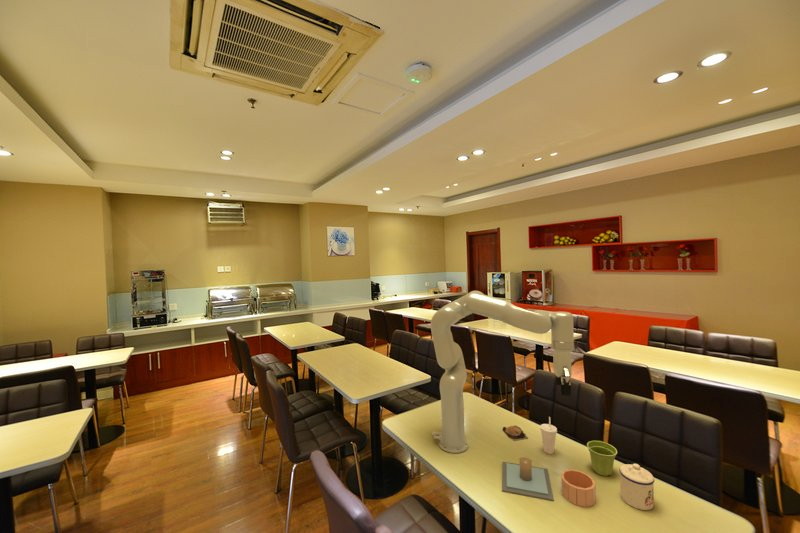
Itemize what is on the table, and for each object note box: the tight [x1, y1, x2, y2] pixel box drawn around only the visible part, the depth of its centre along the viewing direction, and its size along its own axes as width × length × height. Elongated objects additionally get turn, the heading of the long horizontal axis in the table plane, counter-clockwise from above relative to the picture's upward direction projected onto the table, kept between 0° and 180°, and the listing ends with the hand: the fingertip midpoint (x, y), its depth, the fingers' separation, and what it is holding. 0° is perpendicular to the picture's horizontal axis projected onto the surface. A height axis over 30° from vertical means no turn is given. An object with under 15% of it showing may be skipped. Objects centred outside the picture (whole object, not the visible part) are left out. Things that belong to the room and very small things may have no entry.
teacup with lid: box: [619, 463, 655, 511], centre depth 104 cm, size 12×9×12 cm
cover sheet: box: [506, 456, 548, 495], centre depth 114 cm, size 13×13×7 cm
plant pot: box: [586, 440, 618, 477], centre depth 118 cm, size 9×9×9 cm
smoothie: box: [539, 416, 558, 455], centre depth 131 cm, size 6×6×14 cm
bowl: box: [560, 468, 597, 508], centre depth 106 cm, size 10×10×6 cm
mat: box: [501, 461, 555, 502], centre depth 114 cm, size 16×16×1 cm
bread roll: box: [501, 425, 529, 442], centre depth 145 cm, size 11×8×4 cm
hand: (563, 389), depth 121 cm, fingers open, 9 cm apart
